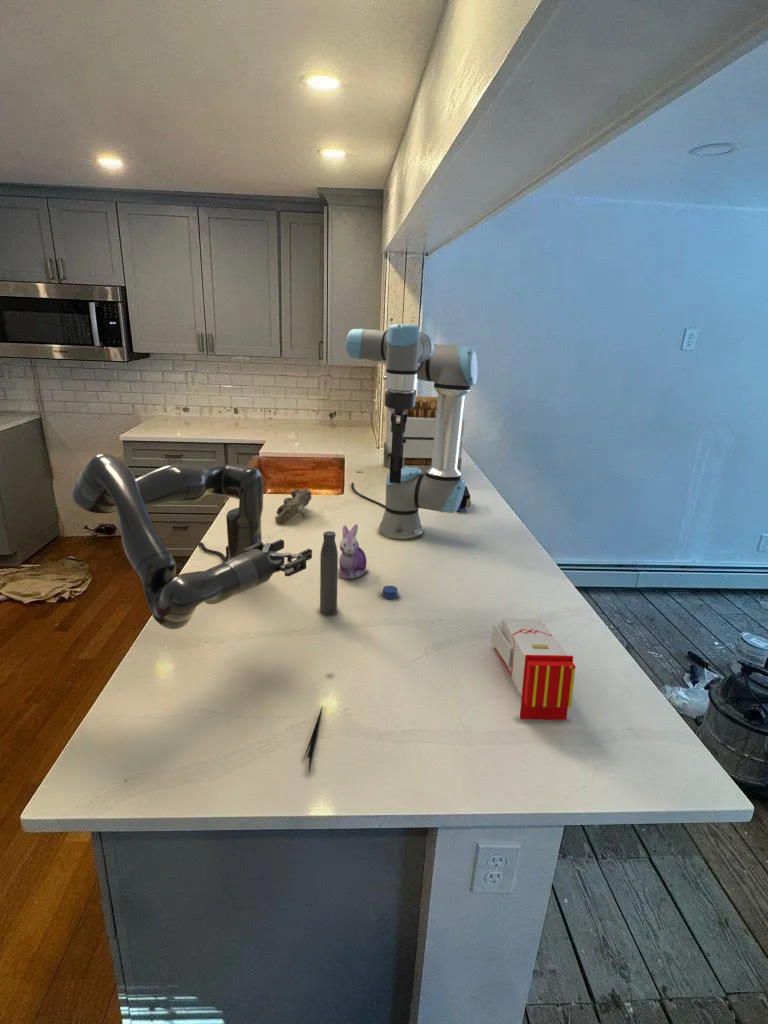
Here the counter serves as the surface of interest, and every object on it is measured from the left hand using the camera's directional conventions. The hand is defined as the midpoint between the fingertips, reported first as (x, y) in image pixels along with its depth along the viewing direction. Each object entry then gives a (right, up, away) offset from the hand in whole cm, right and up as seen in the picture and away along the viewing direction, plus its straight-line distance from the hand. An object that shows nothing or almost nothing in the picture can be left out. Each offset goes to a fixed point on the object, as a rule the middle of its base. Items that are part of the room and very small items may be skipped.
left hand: (296, 548), depth 131 cm
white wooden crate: (+37, +27, +144) cm, 151 cm away
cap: (+22, -13, +26) cm, 36 cm away
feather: (+8, -31, -22) cm, 39 cm away
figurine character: (+51, +10, +99) cm, 111 cm away
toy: (+51, -28, -7) cm, 58 cm away
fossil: (-13, +7, +82) cm, 83 cm away
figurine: (+11, -10, +38) cm, 41 cm away
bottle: (+6, -17, +17) cm, 25 cm away
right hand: (+23, +18, +14) cm, 33 cm away
